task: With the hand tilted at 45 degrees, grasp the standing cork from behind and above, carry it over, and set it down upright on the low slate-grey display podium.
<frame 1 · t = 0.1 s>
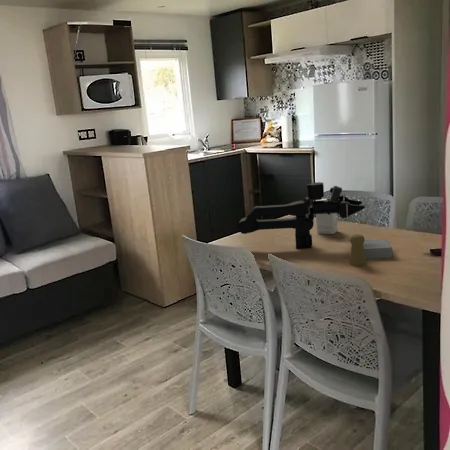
hand: (363, 204, 204), 17 cm above the table, tool horizontal, fingers open, 9 cm apart
cork: (358, 264, 184), on the table
skincare box: (327, 232, 230), on the table
podium: (373, 253, 193), on the table
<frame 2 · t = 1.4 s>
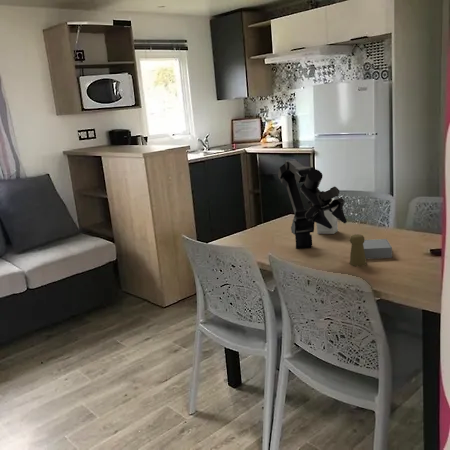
hand: (338, 225, 187), 14 cm above the table, tool tilted 45°, fingers open, 9 cm apart
nothing on the table moved.
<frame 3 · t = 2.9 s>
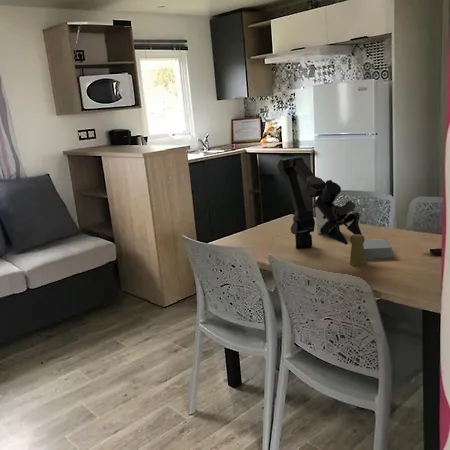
hand: (354, 240, 182), 9 cm above the table, tool tilted 45°, fingers open, 9 cm apart
nothing on the table moved.
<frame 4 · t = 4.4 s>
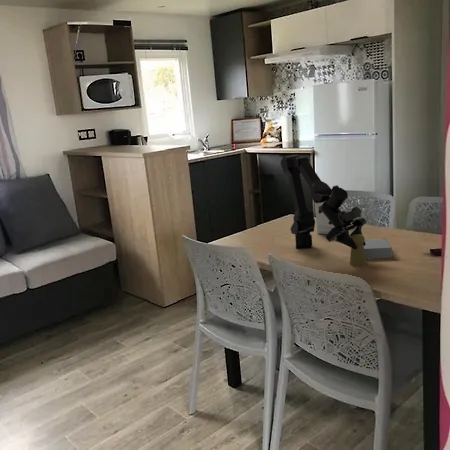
hand: (360, 247, 181), 7 cm above the table, tool tilted 45°, fingers closed on cork, 5 cm apart
cork: (358, 264, 184), on the table, touching gripper
everything else where it was.
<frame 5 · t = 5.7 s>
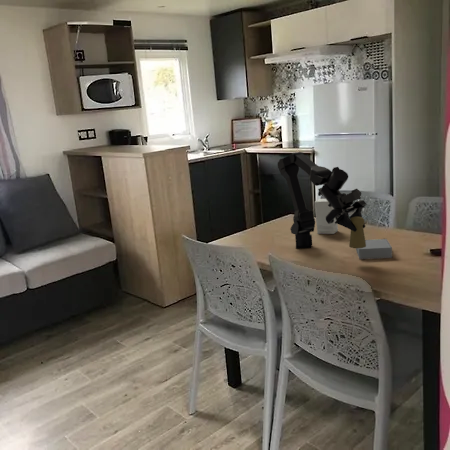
hand: (360, 229, 180), 13 cm above the table, tool tilted 45°, fingers closed on cork, 5 cm apart
cork: (357, 246, 183), point 6 cm above the table, touching gripper
everything else where it was.
when the fingers open (12 cm above the table, at t = 7.3 s): cork drops 1 cm, resting on podium.
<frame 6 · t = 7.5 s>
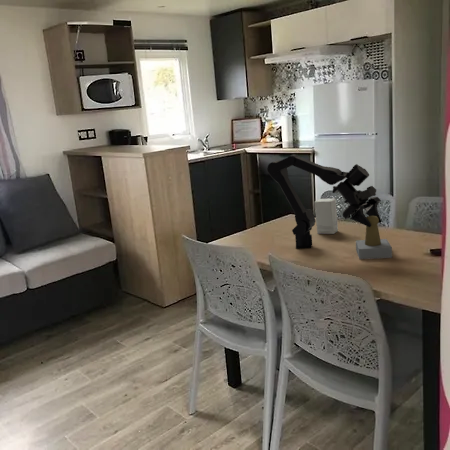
hand: (375, 224, 189), 12 cm above the table, tool tilted 45°, fingers open, 7 cm apart
cork: (372, 244, 192), point 4 cm above the table, touching podium
everything else where it was.
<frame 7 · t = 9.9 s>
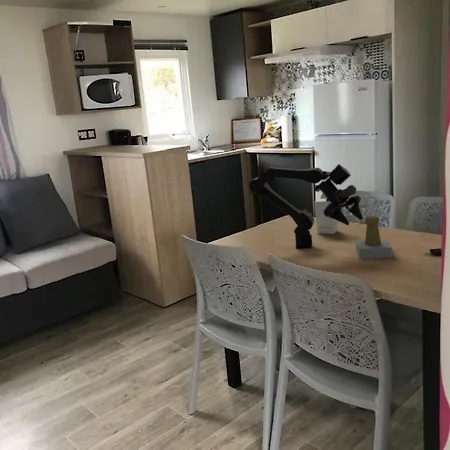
hand: (355, 221, 196), 12 cm above the table, tool tilted 45°, fingers open, 9 cm apart
nothing on the table moved.
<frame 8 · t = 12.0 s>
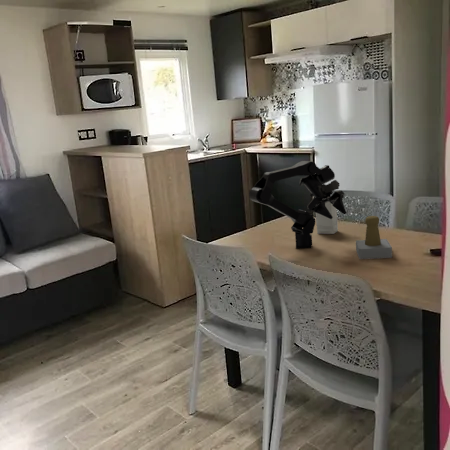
hand: (338, 216, 202), 14 cm above the table, tool tilted 45°, fingers open, 9 cm apart
nothing on the table moved.
at the end: cork inside the target area on the podium (0.1 cm from its centre), point 3.8 cm above the podium's base; cork tilted 0°; the gripper is holding nothing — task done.
